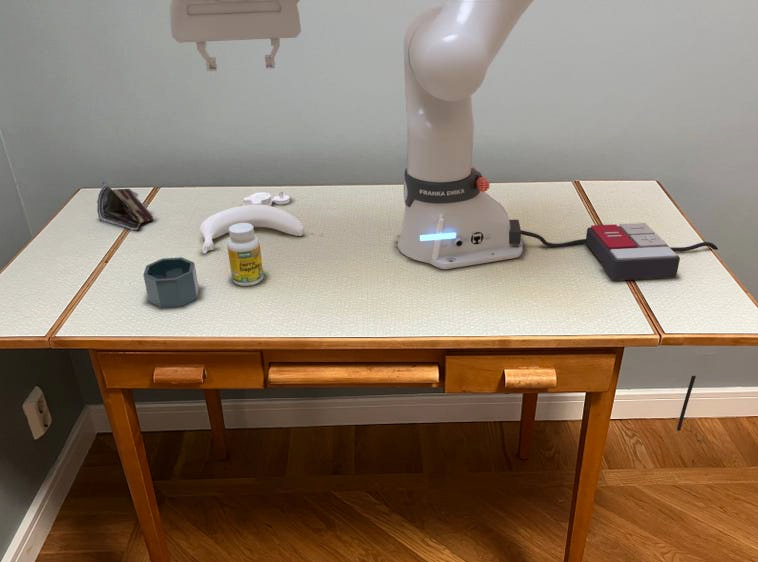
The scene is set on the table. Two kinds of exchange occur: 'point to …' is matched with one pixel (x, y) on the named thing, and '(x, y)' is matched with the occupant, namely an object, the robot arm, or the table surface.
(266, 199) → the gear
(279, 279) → the table surface
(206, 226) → the banana
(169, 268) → the holder
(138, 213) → the chocolate cake
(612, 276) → the control box
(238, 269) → the supplement bottle
